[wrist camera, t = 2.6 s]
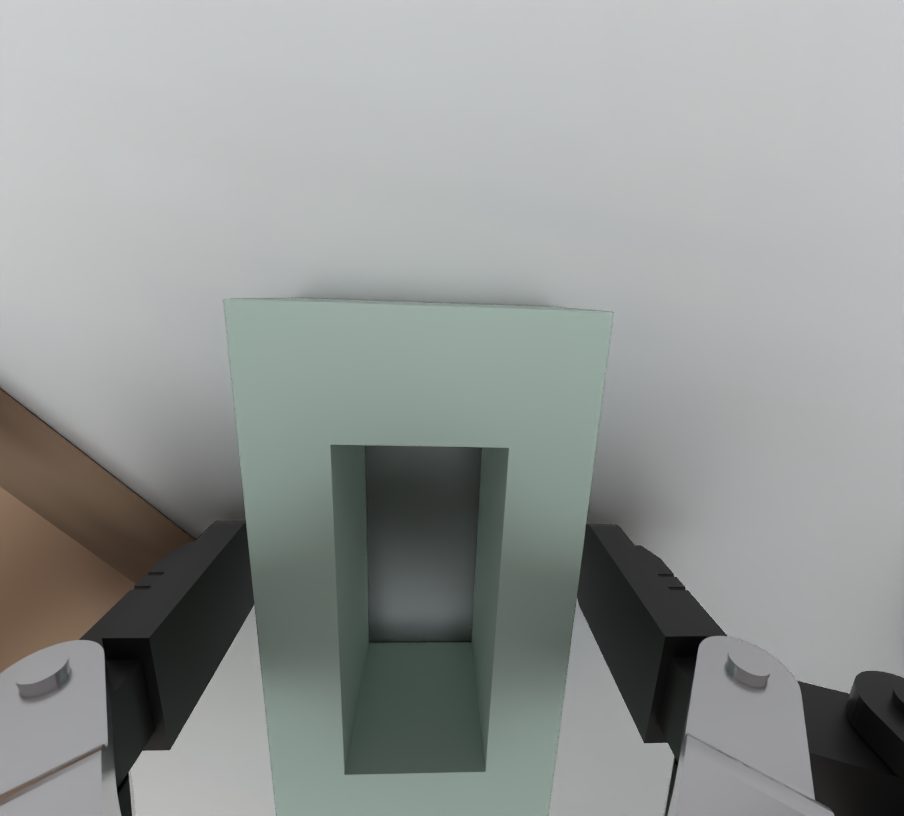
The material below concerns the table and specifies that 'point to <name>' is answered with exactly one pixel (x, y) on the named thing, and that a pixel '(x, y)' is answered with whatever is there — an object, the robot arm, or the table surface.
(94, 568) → the walnut board
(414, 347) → the slotted plate
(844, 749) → the robot arm
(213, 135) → the table surface
